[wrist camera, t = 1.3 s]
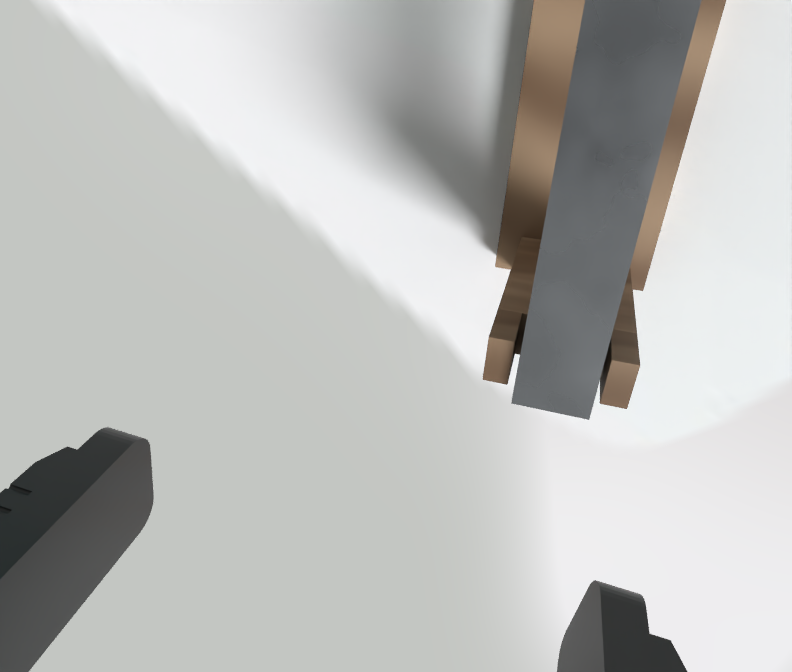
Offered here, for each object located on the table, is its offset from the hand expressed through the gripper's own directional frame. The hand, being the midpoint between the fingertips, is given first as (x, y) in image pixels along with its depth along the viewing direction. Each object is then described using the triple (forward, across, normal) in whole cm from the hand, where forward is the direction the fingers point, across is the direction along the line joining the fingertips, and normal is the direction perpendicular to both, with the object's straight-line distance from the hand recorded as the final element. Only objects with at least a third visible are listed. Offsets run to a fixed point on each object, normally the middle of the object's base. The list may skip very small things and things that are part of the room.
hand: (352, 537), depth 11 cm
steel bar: (+16, -4, -5) cm, 17 cm away
